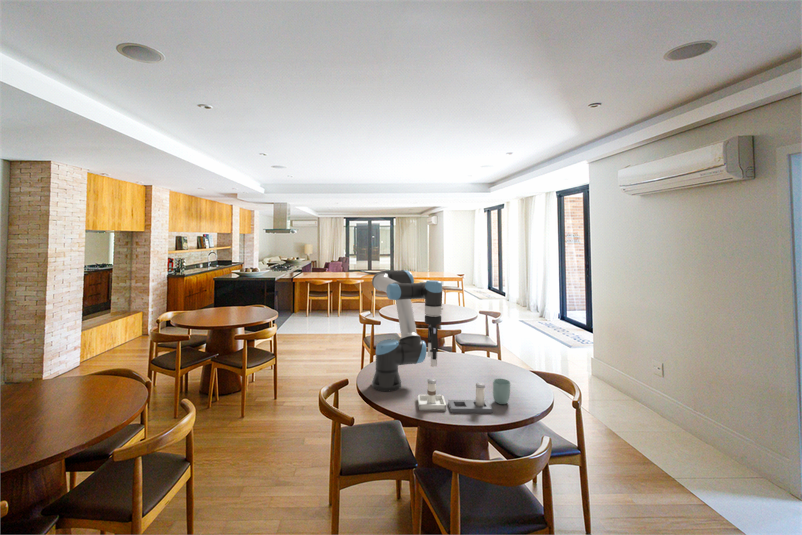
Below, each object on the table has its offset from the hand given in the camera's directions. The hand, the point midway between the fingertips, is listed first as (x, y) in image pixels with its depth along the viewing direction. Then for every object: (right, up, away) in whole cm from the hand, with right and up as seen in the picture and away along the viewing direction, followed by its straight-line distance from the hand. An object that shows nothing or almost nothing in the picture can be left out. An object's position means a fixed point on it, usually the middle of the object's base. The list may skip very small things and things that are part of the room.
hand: (432, 361), depth 159 cm
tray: (0, -20, +1) cm, 20 cm away
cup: (+33, -21, +5) cm, 39 cm away
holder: (+17, -21, -2) cm, 27 cm away
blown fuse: (0, -20, +1) cm, 20 cm away
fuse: (+21, -21, -2) cm, 30 cm away
